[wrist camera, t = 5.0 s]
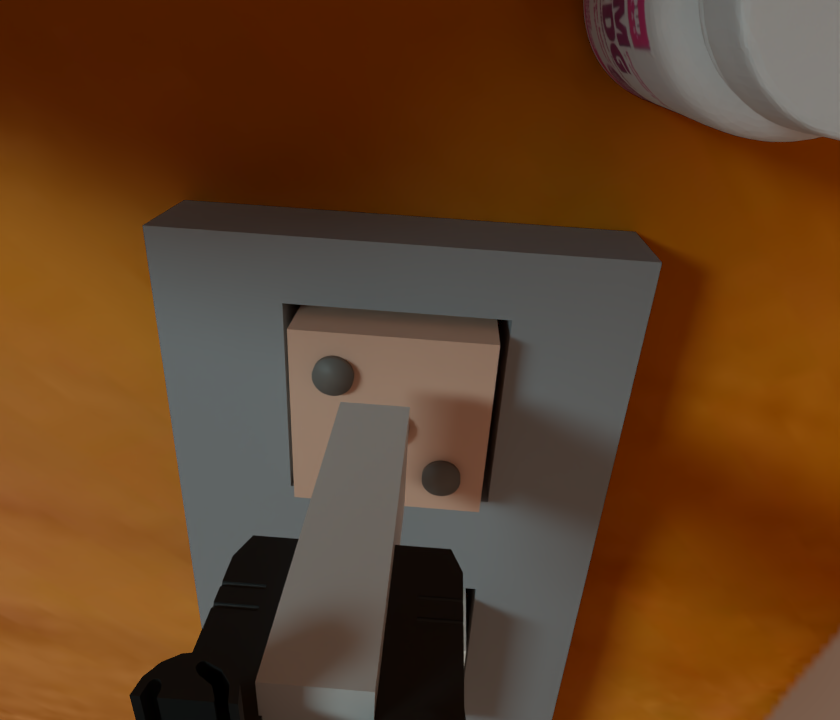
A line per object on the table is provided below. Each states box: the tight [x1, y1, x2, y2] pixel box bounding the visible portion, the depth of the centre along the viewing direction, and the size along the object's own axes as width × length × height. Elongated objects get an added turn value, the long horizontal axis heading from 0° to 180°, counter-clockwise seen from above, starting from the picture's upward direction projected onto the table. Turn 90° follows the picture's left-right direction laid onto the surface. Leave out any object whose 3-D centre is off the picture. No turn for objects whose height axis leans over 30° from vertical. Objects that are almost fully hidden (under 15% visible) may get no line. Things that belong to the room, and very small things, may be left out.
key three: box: [287, 305, 500, 512], centre depth 17 cm, size 5×5×3 cm
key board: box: [143, 200, 662, 720], centre depth 22 cm, size 27×12×2 cm, turn 177°
